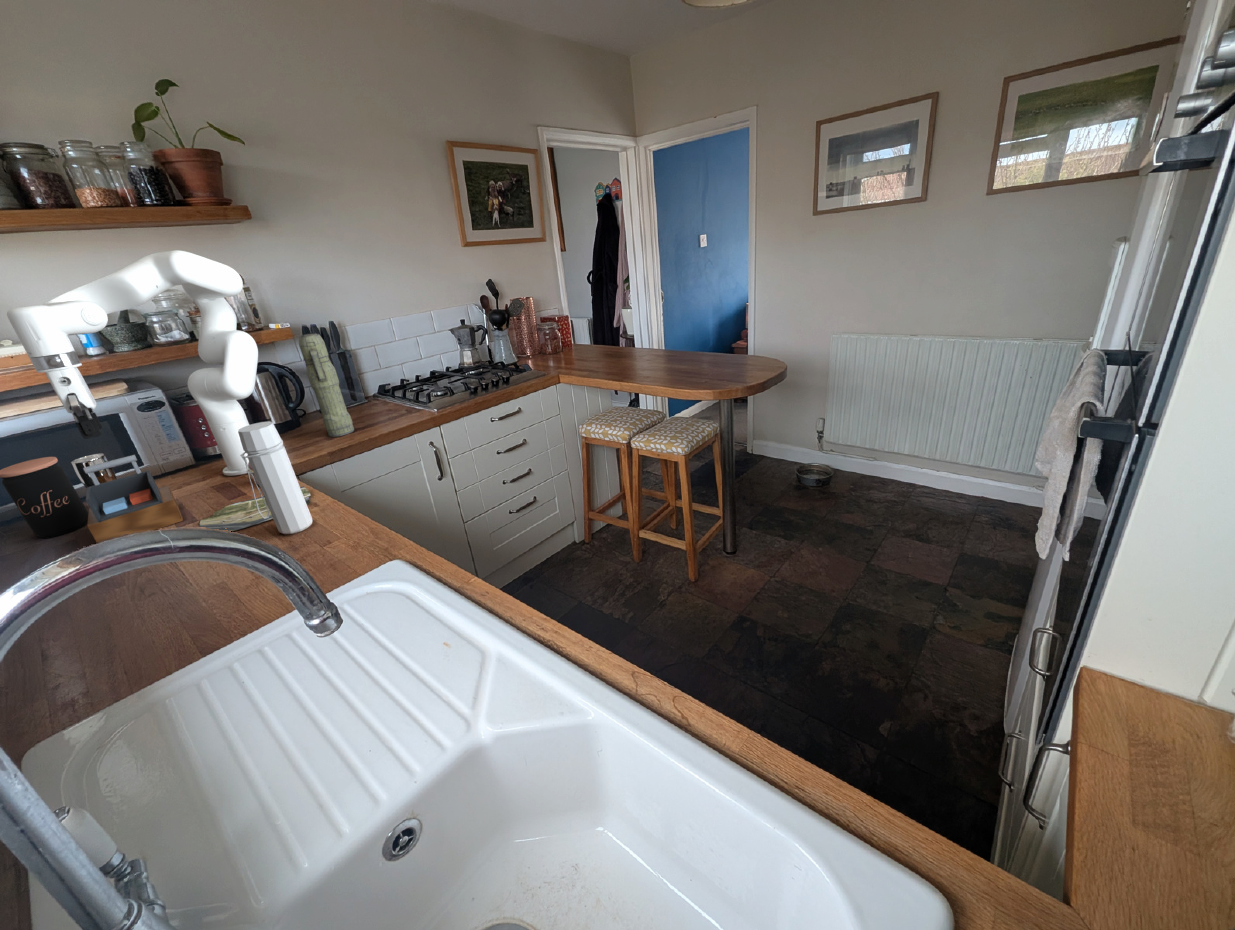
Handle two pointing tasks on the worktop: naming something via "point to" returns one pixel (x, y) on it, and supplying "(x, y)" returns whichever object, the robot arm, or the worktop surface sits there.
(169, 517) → the riser
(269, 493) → the water bottle
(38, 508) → the coffee jar
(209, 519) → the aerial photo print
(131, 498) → the block
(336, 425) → the thermos
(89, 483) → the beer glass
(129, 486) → the basket
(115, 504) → the block
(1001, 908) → the worktop surface
